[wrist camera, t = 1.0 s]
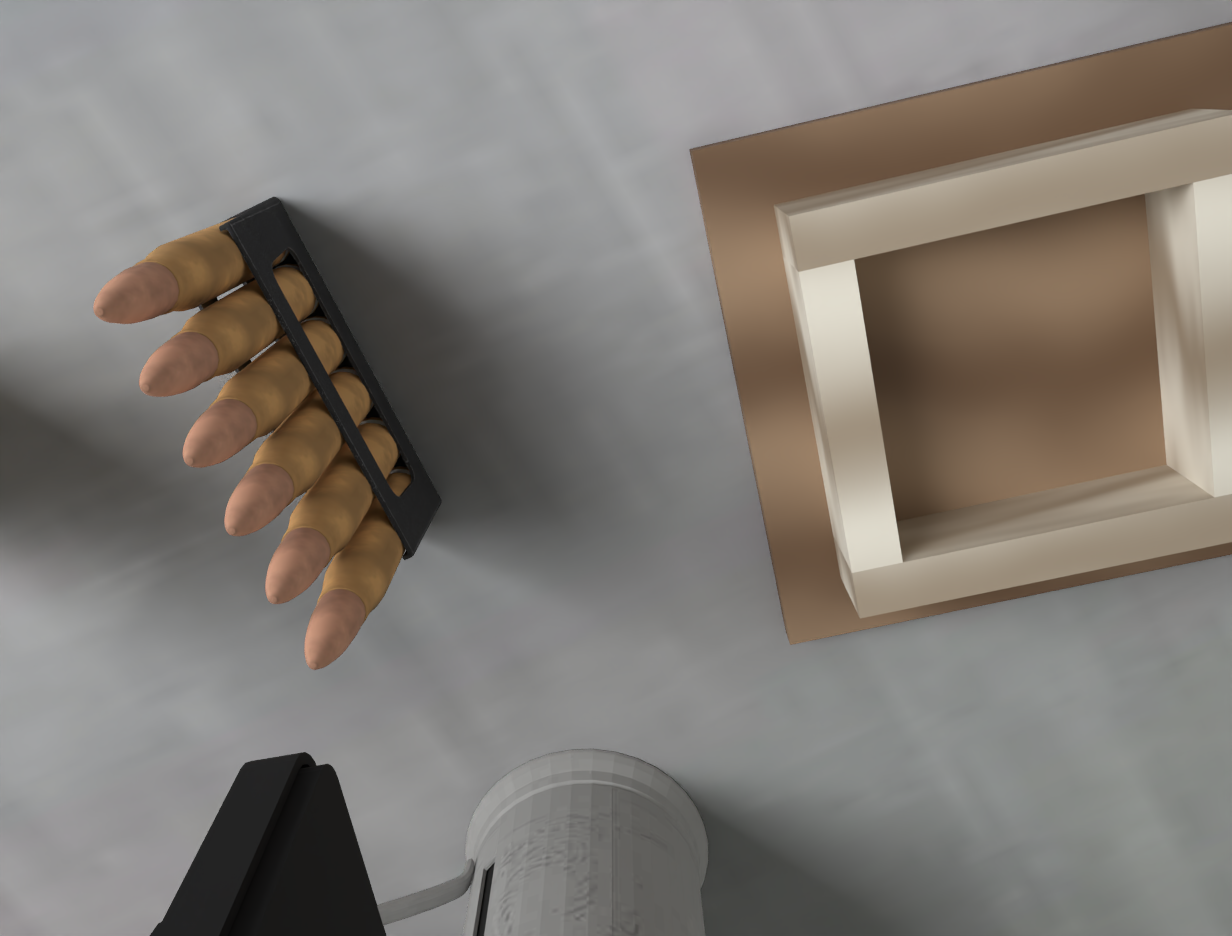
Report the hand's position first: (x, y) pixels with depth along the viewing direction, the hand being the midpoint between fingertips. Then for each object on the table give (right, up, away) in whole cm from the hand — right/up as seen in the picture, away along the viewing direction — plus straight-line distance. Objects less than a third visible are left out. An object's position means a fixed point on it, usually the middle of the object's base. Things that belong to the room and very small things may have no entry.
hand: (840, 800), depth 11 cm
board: (+10, +7, +25) cm, 28 cm away
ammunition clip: (-11, +6, +25) cm, 28 cm away
